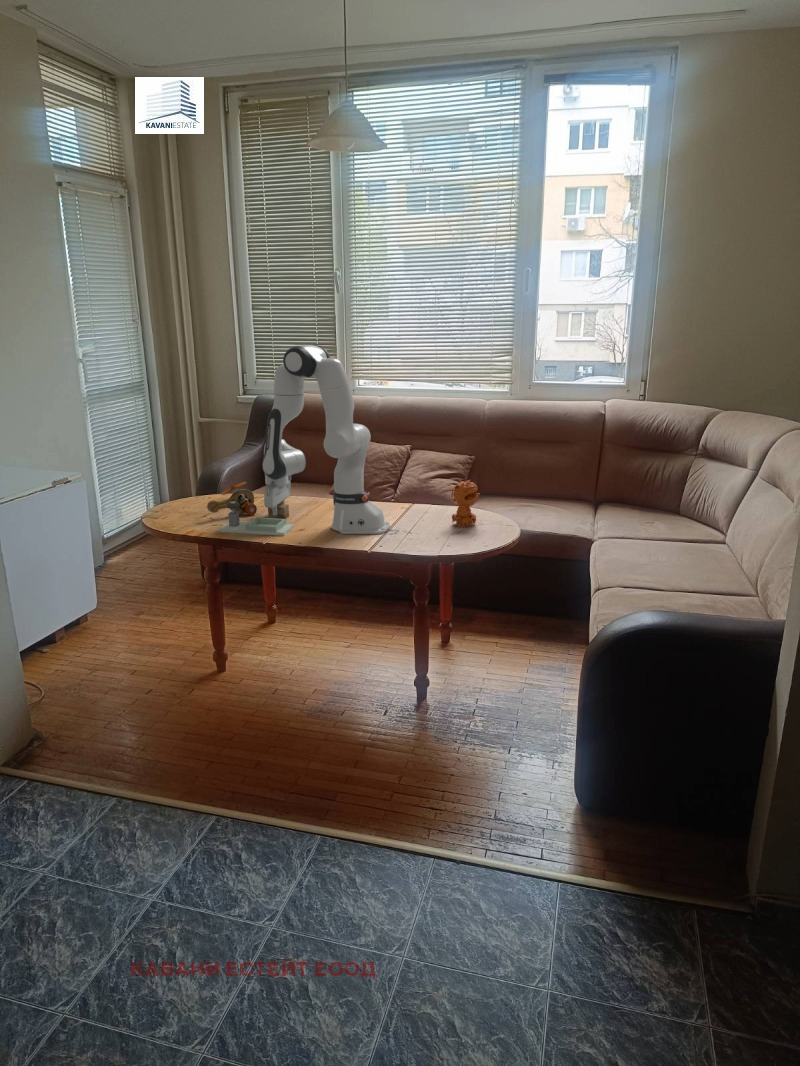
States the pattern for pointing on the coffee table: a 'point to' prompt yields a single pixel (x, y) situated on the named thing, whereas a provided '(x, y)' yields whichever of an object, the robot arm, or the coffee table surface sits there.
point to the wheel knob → (233, 506)
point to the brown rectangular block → (279, 512)
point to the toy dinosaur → (464, 502)
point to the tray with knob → (256, 526)
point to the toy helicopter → (244, 504)
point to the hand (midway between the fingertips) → (278, 512)
